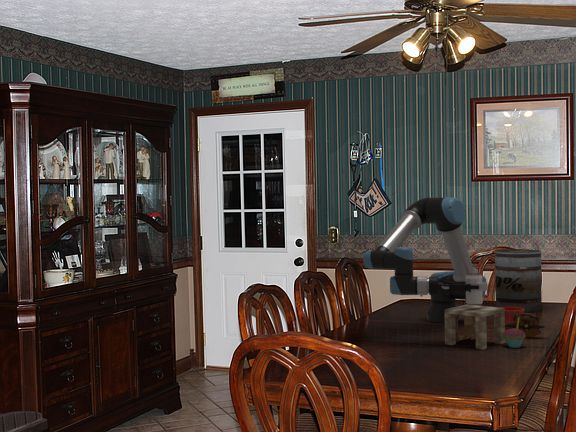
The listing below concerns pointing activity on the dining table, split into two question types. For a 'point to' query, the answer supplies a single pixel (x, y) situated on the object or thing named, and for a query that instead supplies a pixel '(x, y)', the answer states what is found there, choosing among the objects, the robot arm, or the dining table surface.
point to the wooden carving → (526, 324)
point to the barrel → (518, 279)
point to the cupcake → (514, 336)
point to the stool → (480, 318)
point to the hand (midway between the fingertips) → (487, 286)
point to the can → (474, 296)
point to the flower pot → (511, 313)
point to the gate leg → (466, 328)
